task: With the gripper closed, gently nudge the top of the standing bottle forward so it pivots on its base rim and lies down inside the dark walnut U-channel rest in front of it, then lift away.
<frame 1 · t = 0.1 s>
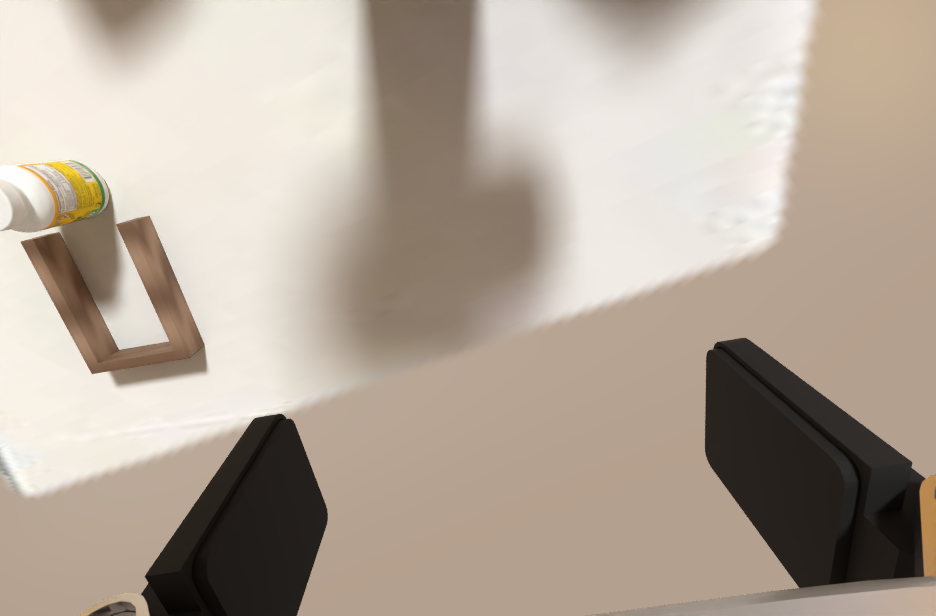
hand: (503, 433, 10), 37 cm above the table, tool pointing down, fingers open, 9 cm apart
u rest: (129, 292, 48), on the table
supplement bottle: (82, 188, 44), on the table
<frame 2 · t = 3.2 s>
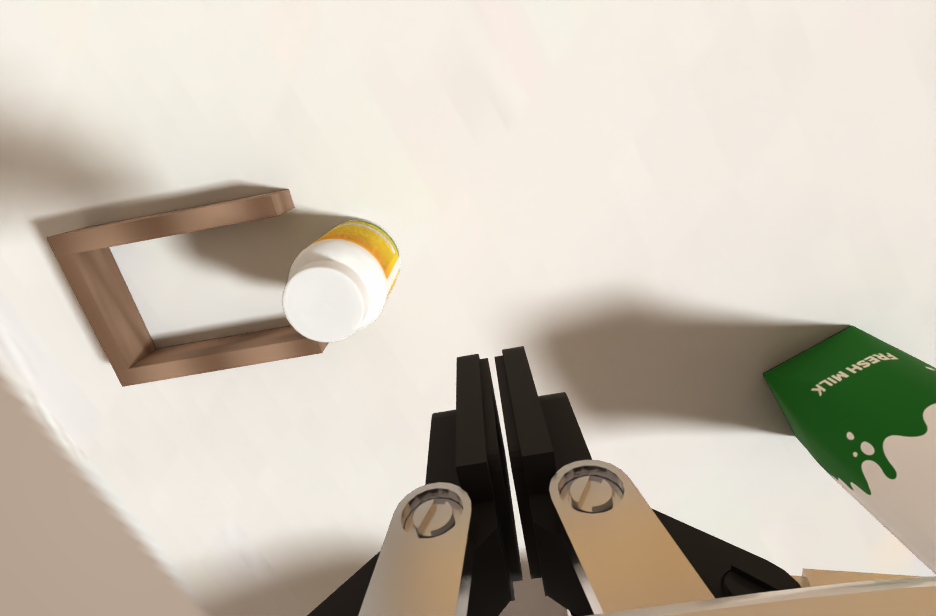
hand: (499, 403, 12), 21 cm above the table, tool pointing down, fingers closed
u rest: (214, 283, 32), on the table
supplement bottle: (363, 256, 32), on the table
milk carton: (820, 383, 36), on the table
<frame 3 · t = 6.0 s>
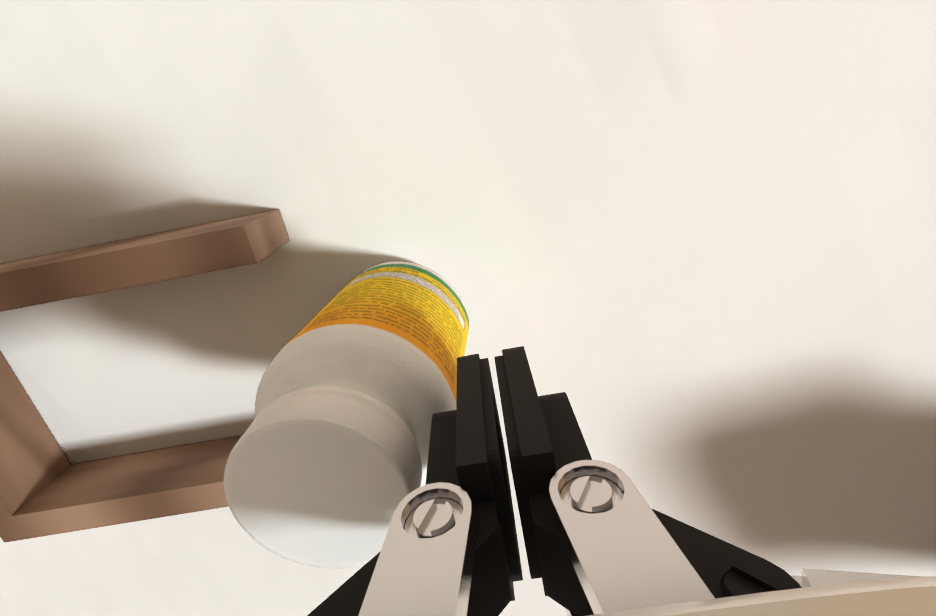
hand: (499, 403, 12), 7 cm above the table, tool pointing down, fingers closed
u rest: (158, 365, 19), on the table
supplement bottle: (405, 320, 19), on the table, touching gripper
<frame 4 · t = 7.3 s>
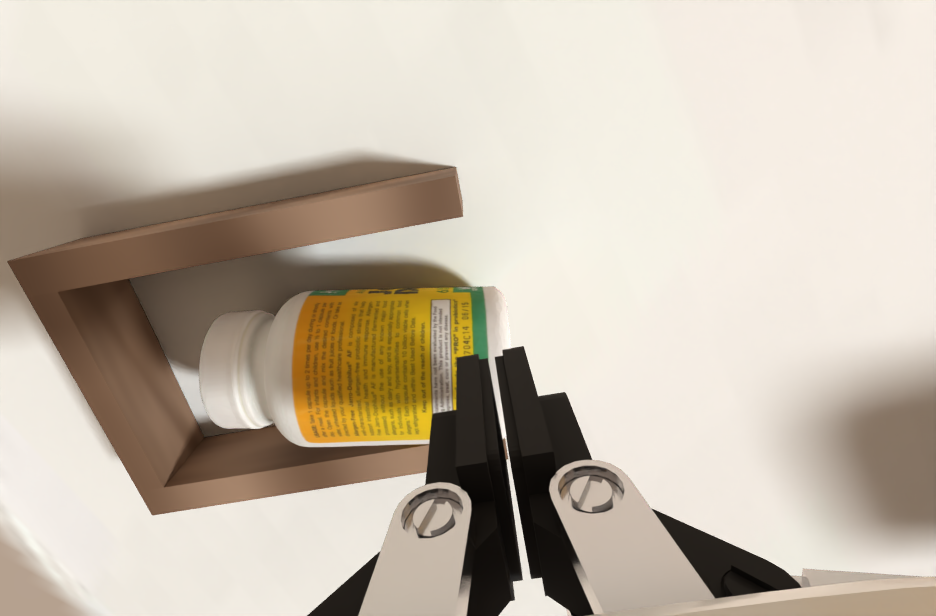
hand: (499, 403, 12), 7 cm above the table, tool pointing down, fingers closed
u rest: (308, 332, 19), on the table
supplement bottle: (511, 361, 16), point 3 cm above the table
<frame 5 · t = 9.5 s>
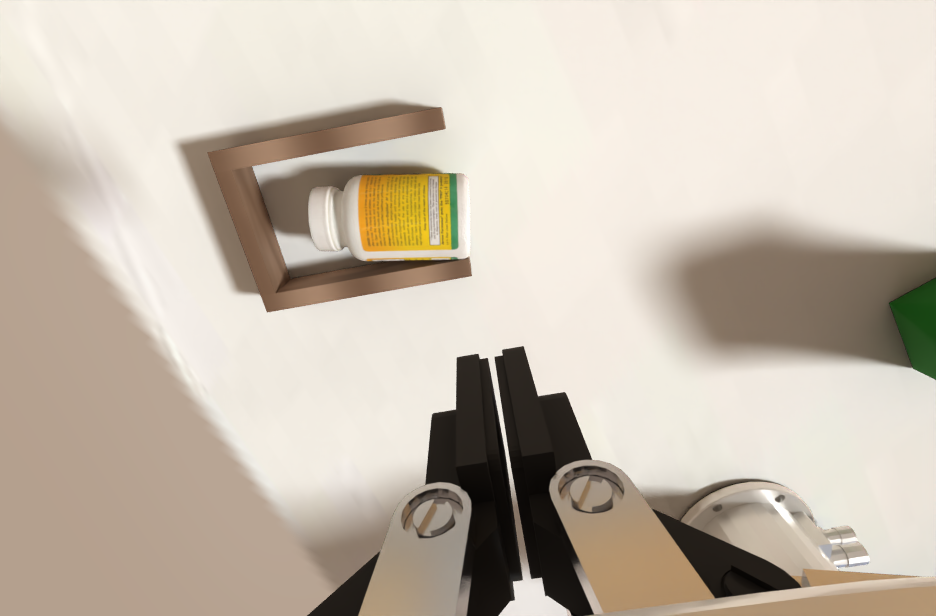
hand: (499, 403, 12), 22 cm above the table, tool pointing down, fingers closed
u rest: (356, 209, 32), on the table
supplement bottle: (472, 216, 30), point 3 cm above the table, touching u rest
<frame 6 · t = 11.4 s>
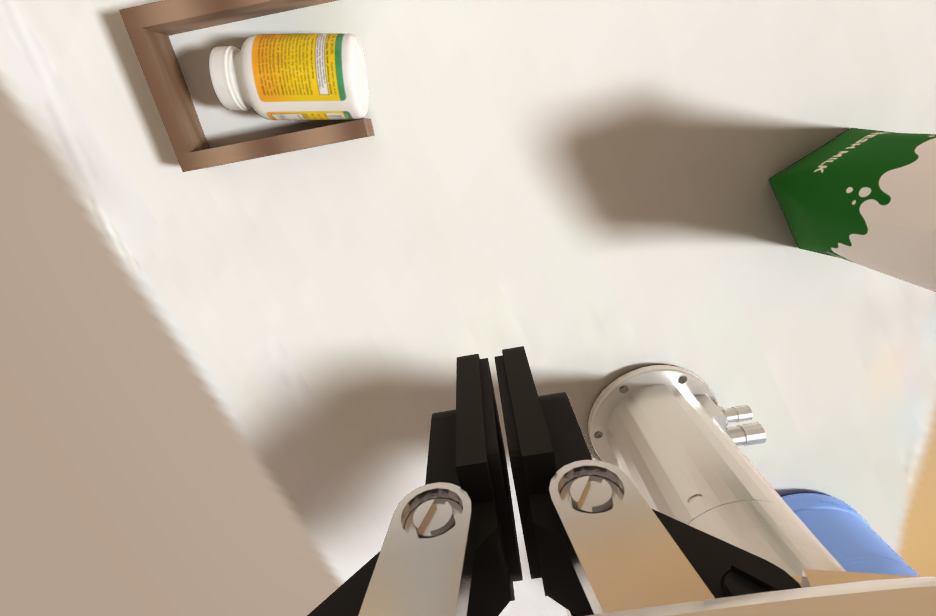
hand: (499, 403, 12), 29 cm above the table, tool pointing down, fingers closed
water jug: (785, 540, 54), on the table
u rest: (266, 79, 35), on the table
supplement bottle: (364, 77, 33), point 3 cm above the table, touching u rest
milk carton: (821, 191, 39), on the table
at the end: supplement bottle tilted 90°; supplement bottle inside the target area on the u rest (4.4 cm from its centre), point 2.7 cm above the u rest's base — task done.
